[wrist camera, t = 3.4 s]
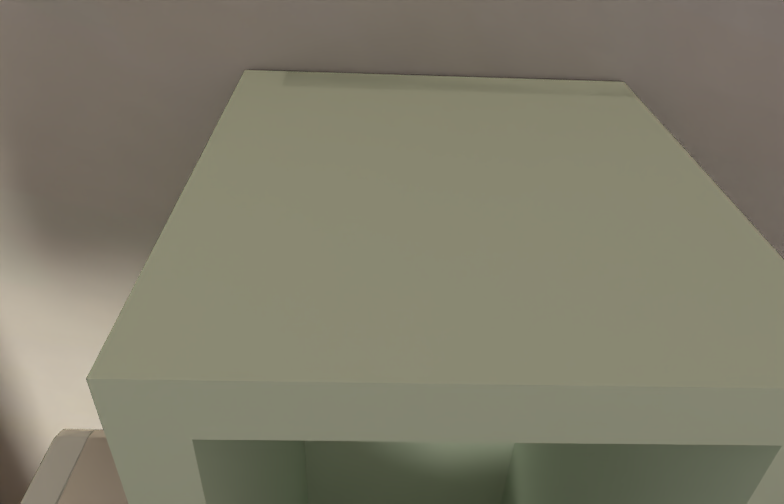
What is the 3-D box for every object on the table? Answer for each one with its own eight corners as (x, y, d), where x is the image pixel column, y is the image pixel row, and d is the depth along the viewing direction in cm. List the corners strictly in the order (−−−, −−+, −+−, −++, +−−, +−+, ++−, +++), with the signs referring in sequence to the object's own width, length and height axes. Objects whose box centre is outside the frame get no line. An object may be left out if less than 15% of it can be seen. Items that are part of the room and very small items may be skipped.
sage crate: (512, 517, 16) (575, 845, 11) (287, 516, 15) (245, 849, 10) (623, 81, 9) (902, 390, 4) (244, 69, 9) (86, 378, 4)
